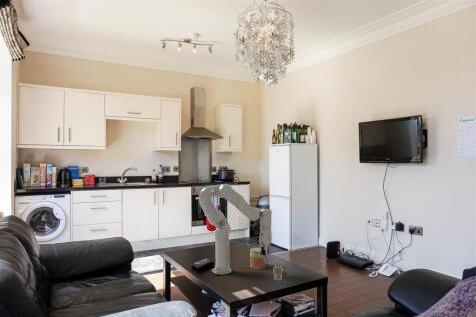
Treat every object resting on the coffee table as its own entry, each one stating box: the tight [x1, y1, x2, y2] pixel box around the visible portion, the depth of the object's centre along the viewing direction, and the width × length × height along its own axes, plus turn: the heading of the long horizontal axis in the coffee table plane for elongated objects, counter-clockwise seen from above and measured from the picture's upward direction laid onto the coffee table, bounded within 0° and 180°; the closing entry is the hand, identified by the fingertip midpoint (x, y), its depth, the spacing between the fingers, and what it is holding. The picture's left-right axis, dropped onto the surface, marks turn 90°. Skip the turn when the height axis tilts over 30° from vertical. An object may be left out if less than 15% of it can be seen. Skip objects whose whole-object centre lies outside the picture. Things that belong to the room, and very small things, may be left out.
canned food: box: [249, 247, 267, 270], centre depth 232 cm, size 11×11×12 cm
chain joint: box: [272, 263, 284, 281], centre depth 217 cm, size 27×7×2 cm, turn 172°
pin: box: [262, 245, 268, 259], centre depth 218 cm, size 4×4×10 cm
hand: (264, 254), depth 218 cm, fingers closed on pin, 3 cm apart
